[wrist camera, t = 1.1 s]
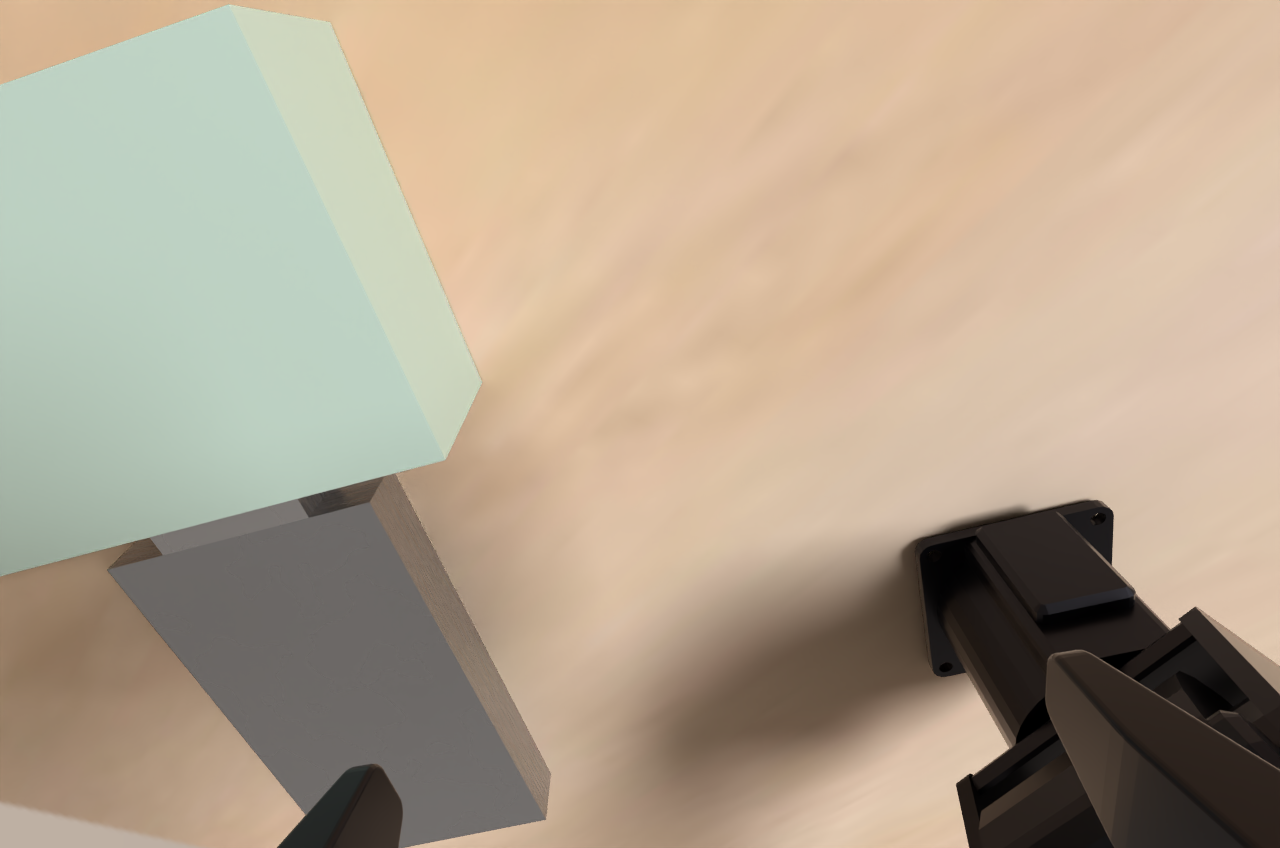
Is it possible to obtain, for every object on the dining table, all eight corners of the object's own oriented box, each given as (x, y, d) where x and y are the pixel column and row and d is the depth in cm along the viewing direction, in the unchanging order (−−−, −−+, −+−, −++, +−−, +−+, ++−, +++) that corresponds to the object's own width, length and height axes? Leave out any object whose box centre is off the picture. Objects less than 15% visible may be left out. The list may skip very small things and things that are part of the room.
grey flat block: (551, 770, 30) (545, 819, 28) (360, 809, 31) (342, 859, 29) (364, 412, 22) (338, 446, 20) (114, 480, 23) (66, 519, 21)
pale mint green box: (482, 382, 21) (445, 460, 17) (7, 511, 23) (-133, 610, 19) (330, 21, 17) (228, 4, 13) (-241, 217, 19) (-499, 260, 14)
